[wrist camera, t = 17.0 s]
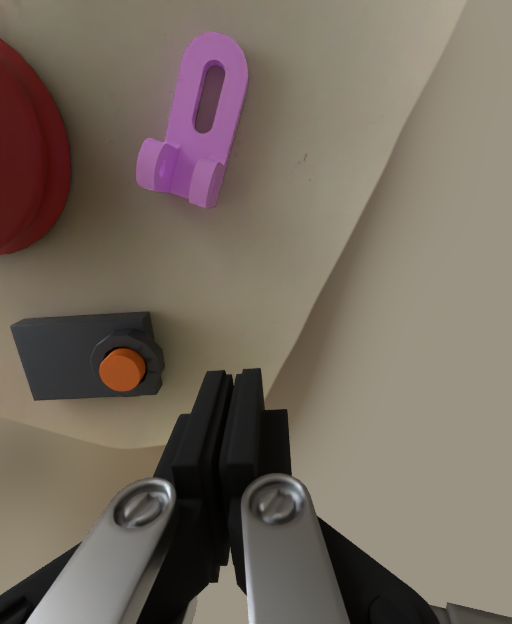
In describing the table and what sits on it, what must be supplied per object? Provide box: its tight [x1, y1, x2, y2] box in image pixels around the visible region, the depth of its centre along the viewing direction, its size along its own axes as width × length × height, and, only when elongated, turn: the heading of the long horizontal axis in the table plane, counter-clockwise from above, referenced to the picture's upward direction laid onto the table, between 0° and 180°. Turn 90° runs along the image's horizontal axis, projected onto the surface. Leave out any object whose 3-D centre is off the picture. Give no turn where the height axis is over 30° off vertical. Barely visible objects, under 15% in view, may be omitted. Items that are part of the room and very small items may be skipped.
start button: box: [99, 348, 146, 391], centre depth 34 cm, size 4×4×2 cm
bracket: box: [136, 32, 249, 209], centre depth 27 cm, size 13×6×7 cm, turn 162°
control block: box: [10, 312, 165, 401], centre depth 36 cm, size 15×9×4 cm, turn 94°
